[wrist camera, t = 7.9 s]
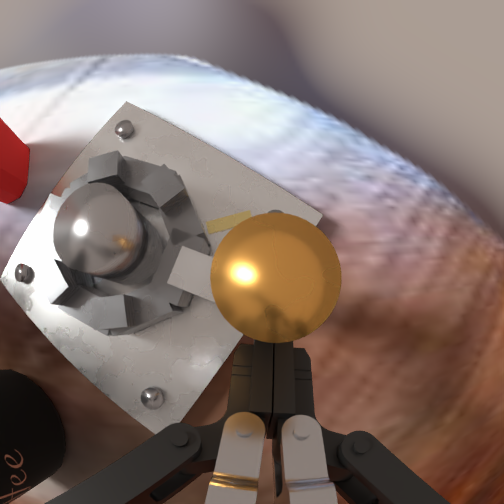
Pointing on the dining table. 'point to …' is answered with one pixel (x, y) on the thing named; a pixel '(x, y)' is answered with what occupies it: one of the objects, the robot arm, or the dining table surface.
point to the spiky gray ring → (201, 264)
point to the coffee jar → (26, 436)
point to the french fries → (12, 164)
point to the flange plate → (181, 333)
